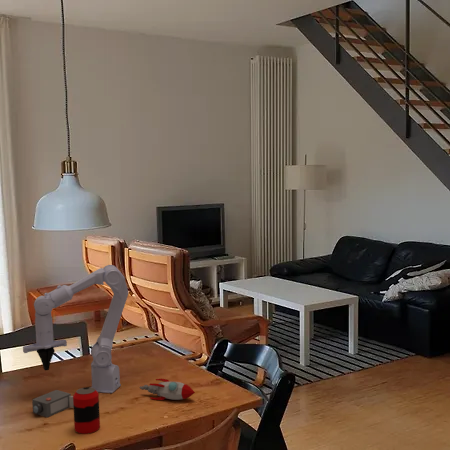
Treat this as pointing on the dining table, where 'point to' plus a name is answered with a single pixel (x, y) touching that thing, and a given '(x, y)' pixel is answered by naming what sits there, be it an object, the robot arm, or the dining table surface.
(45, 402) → the cam body
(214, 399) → the dining table surface
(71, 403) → the side door
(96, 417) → the soda can
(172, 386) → the toy
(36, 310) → the robot arm
